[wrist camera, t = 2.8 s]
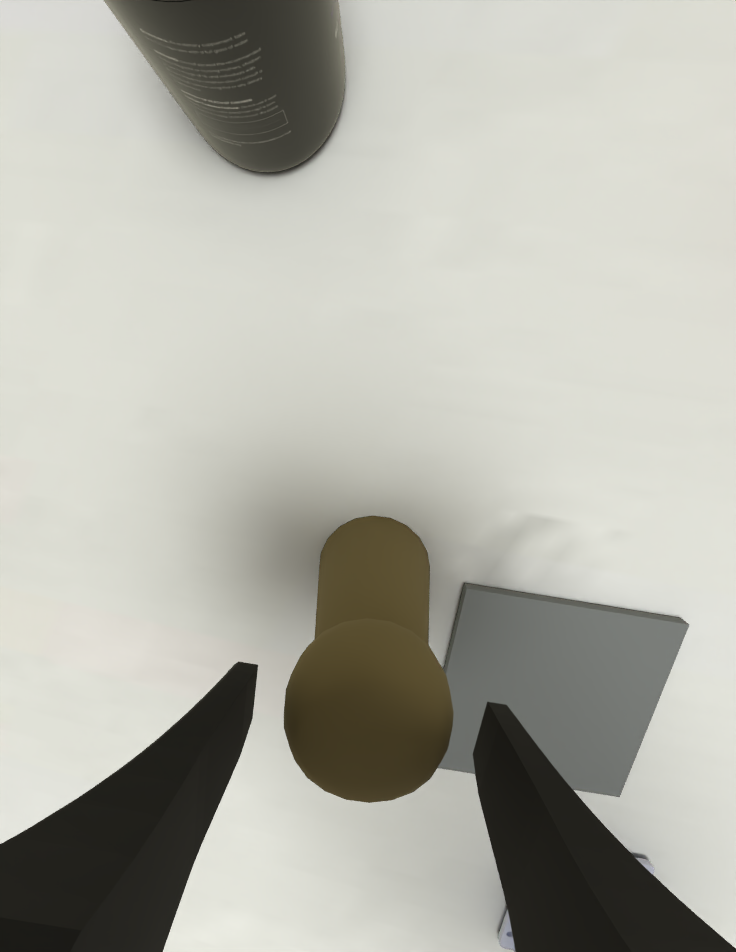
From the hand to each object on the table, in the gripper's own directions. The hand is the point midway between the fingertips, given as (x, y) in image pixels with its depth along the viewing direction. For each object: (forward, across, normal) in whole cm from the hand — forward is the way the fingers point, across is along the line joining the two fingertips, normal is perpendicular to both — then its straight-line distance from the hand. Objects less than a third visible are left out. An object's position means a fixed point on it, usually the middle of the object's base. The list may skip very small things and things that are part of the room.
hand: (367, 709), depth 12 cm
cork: (+10, 0, 0) cm, 10 cm away
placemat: (+9, -11, +6) cm, 16 cm away
